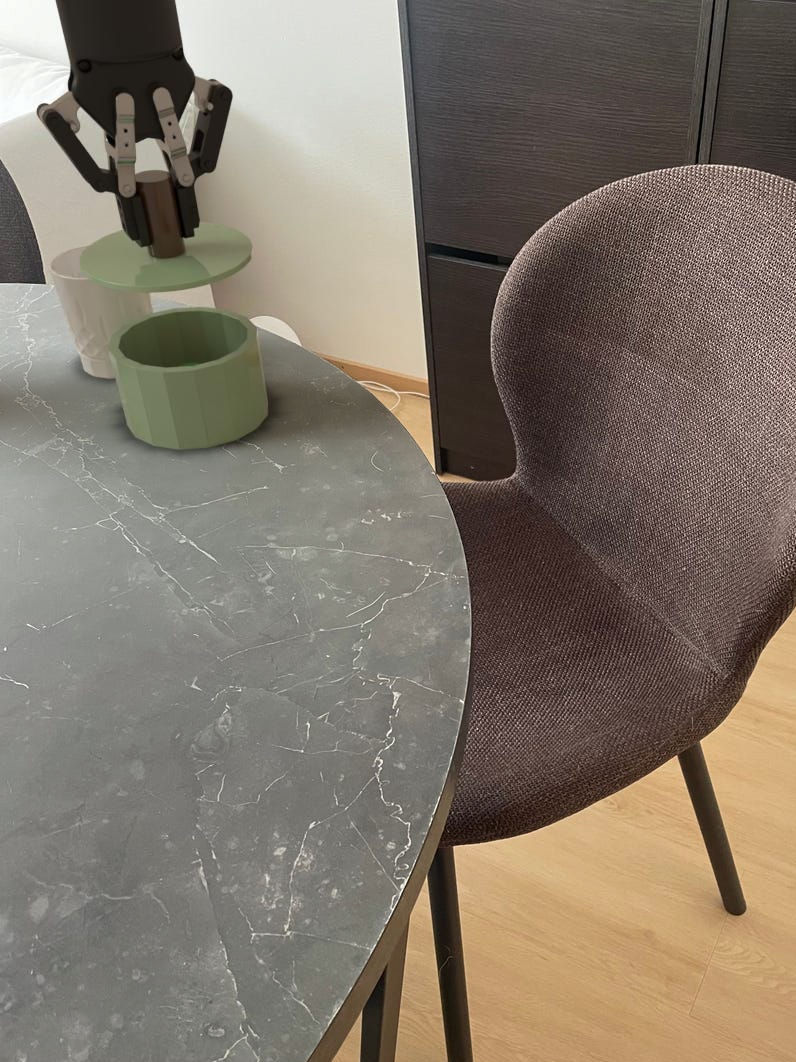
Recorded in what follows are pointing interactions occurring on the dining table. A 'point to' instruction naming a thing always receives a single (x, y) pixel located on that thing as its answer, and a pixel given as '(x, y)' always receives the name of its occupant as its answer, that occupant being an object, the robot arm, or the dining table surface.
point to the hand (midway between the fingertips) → (163, 238)
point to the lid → (165, 248)
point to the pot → (190, 377)
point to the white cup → (93, 310)
